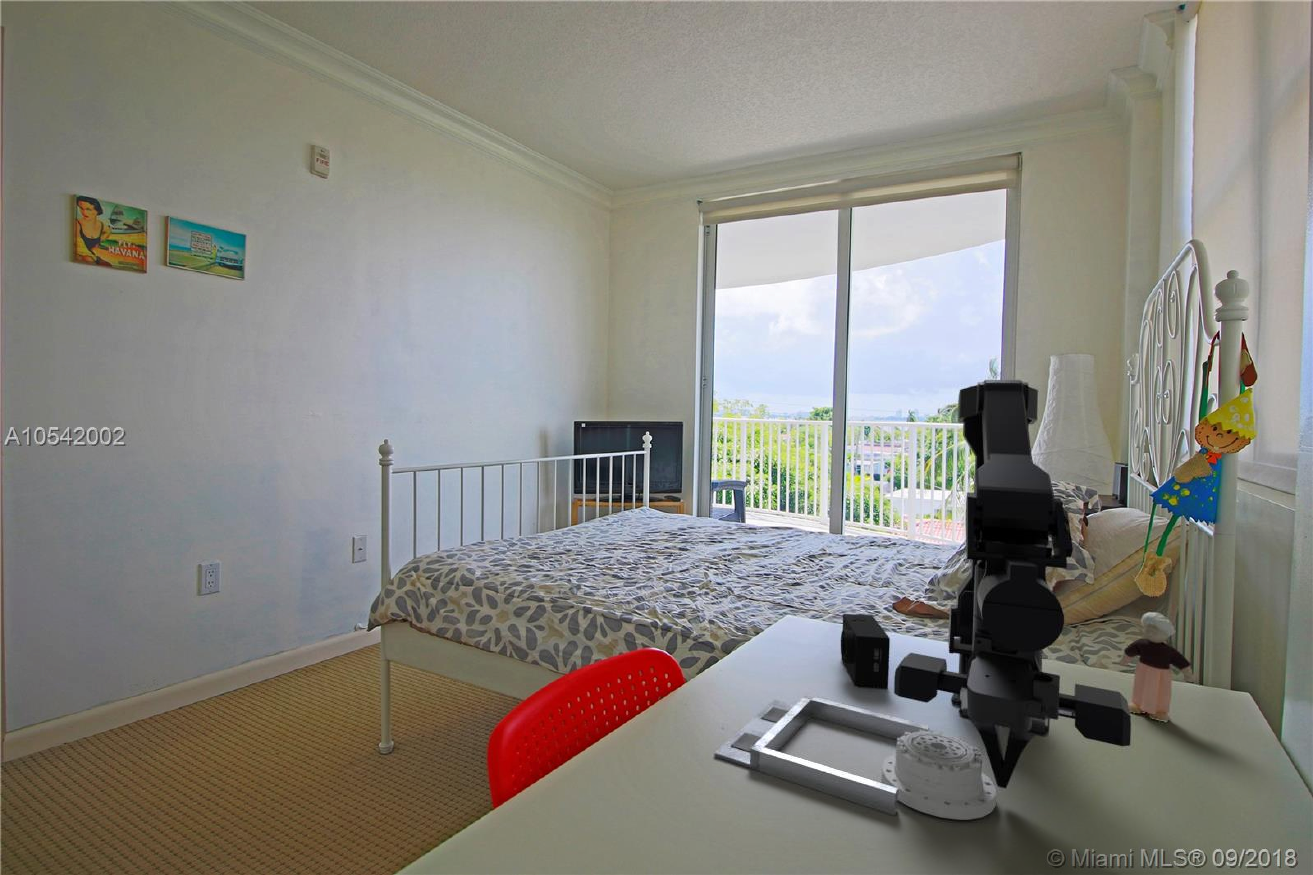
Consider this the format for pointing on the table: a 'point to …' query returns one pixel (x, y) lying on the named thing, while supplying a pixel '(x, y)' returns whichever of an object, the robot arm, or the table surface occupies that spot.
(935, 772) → the mechanical component
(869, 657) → the digital camera
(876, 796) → the u-shaped metal bracket
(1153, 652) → the grandmother figurine
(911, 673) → the robot arm
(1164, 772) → the table surface
